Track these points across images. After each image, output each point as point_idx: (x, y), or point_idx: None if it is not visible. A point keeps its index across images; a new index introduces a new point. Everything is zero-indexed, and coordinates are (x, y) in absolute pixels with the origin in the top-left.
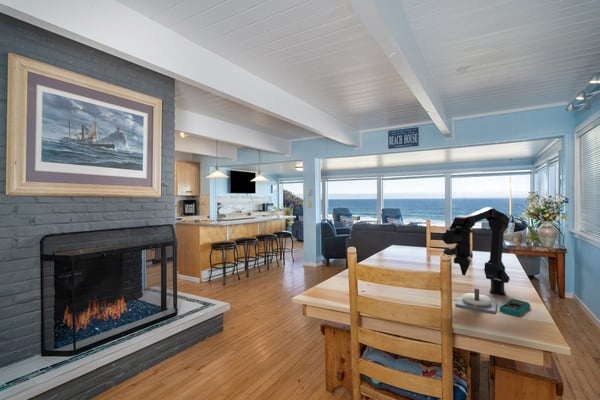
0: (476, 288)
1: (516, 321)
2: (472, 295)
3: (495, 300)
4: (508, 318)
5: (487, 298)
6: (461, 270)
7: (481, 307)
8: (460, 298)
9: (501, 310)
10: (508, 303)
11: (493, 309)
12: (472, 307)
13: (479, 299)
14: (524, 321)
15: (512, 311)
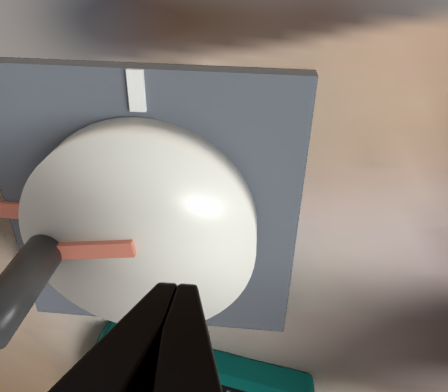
0: (6, 331)
1: (10, 364)
2: (167, 218)
3: (278, 324)
4: (23, 342)
5: None
6: (81, 365)
7: None
8: (168, 91)
9: (102, 333)
10: None
11: (65, 304)
12: (3, 194)
13: (85, 266)
14: (40, 388)
15: None
